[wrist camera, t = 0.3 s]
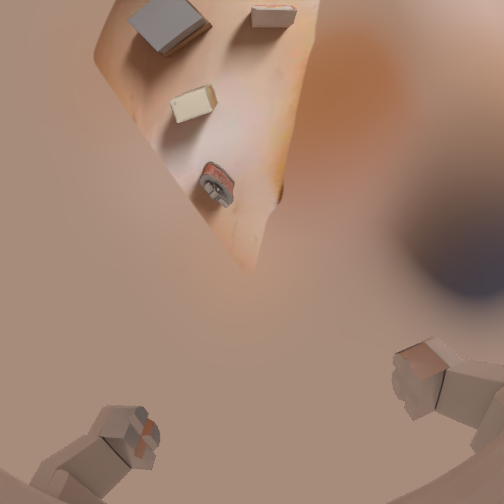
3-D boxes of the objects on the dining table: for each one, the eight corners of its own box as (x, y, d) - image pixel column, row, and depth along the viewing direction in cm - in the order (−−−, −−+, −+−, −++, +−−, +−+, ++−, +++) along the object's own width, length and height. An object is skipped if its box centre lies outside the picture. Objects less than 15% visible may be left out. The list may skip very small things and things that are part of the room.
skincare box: (189, 112, 47) (175, 124, 38) (182, 93, 45) (166, 101, 35) (219, 102, 47) (213, 112, 37) (213, 82, 44) (205, 87, 34)
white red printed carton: (288, 27, 37) (297, 19, 29) (251, 27, 37) (253, 19, 29) (287, 11, 34) (296, 0, 27) (250, 11, 34) (252, 0, 27)
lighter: (200, 168, 56) (193, 188, 48) (211, 158, 54) (206, 176, 46) (226, 192, 59) (224, 215, 52) (238, 182, 58) (237, 205, 50)
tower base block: (142, 26, 35) (133, 24, 31) (182, -5, 31) (176, -10, 27) (171, 57, 40) (164, 56, 36) (212, 26, 36) (209, 22, 32)
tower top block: (137, 23, 31) (127, 20, 27) (177, -7, 28) (170, -14, 24) (165, 52, 36) (157, 51, 32) (206, 22, 32) (202, 17, 29)
